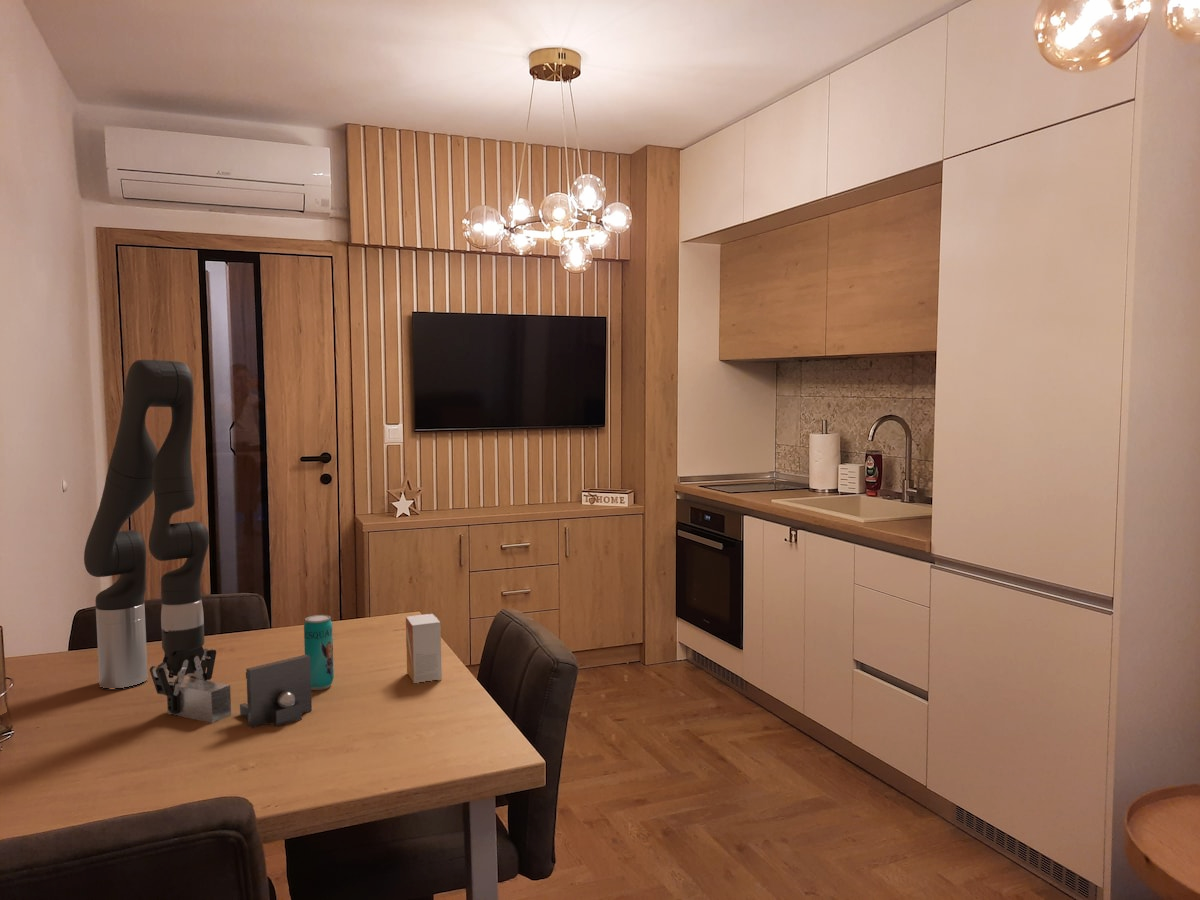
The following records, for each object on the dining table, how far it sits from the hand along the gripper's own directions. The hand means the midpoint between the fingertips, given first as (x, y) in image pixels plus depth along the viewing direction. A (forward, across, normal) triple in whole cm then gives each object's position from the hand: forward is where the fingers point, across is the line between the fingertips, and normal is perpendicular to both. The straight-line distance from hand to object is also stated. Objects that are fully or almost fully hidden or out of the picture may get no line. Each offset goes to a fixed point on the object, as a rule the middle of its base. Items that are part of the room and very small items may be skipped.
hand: (186, 708), depth 168 cm
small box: (+1, -36, +31) cm, 47 cm away
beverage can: (+1, -22, +14) cm, 26 cm away
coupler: (+1, -5, +18) cm, 19 cm away
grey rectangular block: (+1, 0, +4) cm, 4 cm away
